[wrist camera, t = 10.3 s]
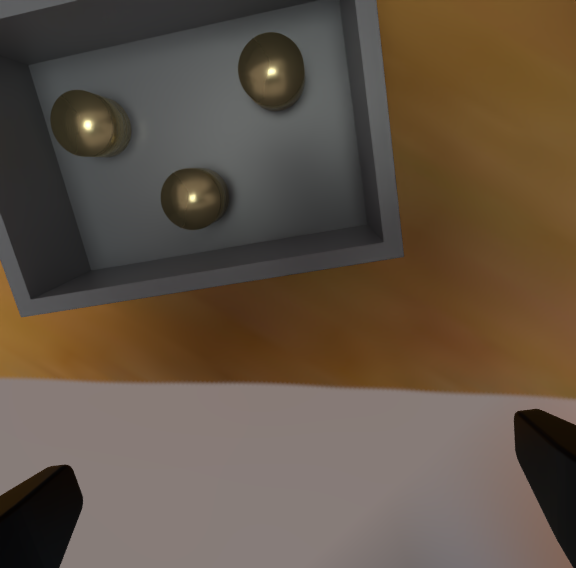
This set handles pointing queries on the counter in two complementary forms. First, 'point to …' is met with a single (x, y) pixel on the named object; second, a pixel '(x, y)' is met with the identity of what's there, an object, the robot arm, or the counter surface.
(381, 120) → the tub
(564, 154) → the counter surface
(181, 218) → the brass parts
